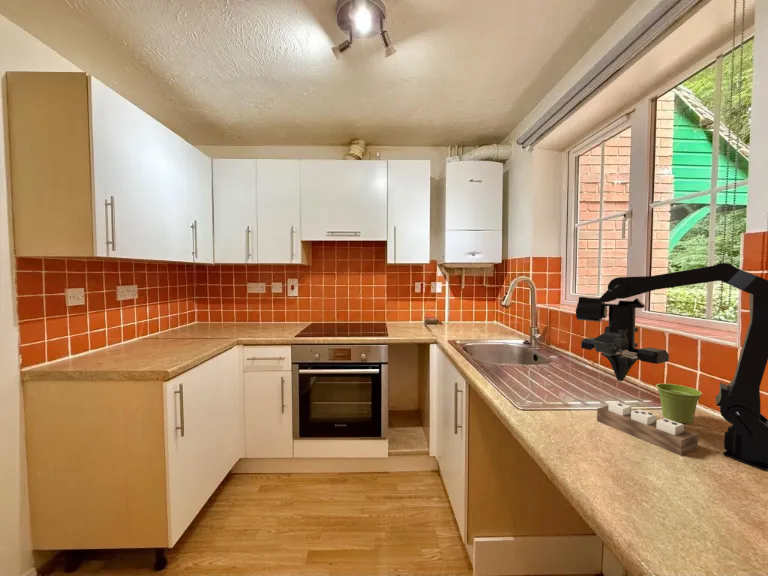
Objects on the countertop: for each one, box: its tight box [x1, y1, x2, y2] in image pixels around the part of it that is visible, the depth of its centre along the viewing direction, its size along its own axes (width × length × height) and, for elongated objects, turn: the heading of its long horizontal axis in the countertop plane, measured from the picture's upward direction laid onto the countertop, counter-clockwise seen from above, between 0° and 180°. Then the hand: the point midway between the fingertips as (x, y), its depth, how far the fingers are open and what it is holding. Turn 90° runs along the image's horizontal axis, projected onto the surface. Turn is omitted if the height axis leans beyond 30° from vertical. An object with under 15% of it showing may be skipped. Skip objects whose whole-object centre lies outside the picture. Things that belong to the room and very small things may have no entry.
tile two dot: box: [656, 417, 685, 436], centre depth 74 cm, size 4×4×3 cm
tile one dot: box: [607, 401, 632, 416], centre depth 84 cm, size 4×4×3 cm
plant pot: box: [655, 383, 703, 425], centre depth 87 cm, size 9×9×9 cm
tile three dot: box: [631, 408, 657, 425], centre depth 79 cm, size 4×4×3 cm
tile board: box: [596, 405, 699, 457], centre depth 79 cm, size 18×7×4 cm, turn 23°
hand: (620, 380), depth 84 cm, fingers closed
